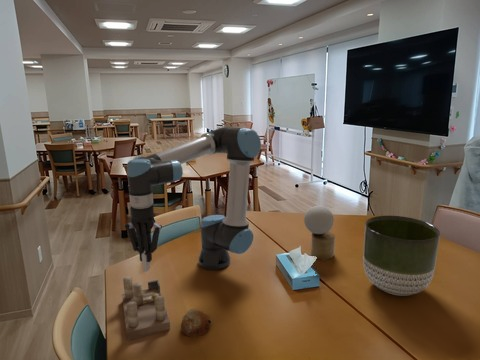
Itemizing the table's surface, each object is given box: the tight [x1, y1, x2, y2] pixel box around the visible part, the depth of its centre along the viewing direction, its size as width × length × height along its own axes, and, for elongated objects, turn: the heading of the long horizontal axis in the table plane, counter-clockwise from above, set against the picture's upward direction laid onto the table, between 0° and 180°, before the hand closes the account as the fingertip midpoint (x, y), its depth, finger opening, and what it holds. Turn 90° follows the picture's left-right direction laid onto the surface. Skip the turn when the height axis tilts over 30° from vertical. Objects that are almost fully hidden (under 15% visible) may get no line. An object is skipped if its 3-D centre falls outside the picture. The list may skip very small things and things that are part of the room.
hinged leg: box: [133, 282, 159, 306], centre depth 128 cm, size 9×3×8 cm, turn 112°
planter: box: [362, 215, 441, 297], centre depth 138 cm, size 27×27×27 cm
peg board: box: [121, 276, 171, 341], centre depth 125 cm, size 24×14×11 cm, turn 22°
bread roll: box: [180, 308, 212, 337], centre depth 119 cm, size 10×10×8 cm
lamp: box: [303, 205, 336, 260], centre depth 170 cm, size 15×14×25 cm
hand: (146, 269), depth 121 cm, fingers closed
